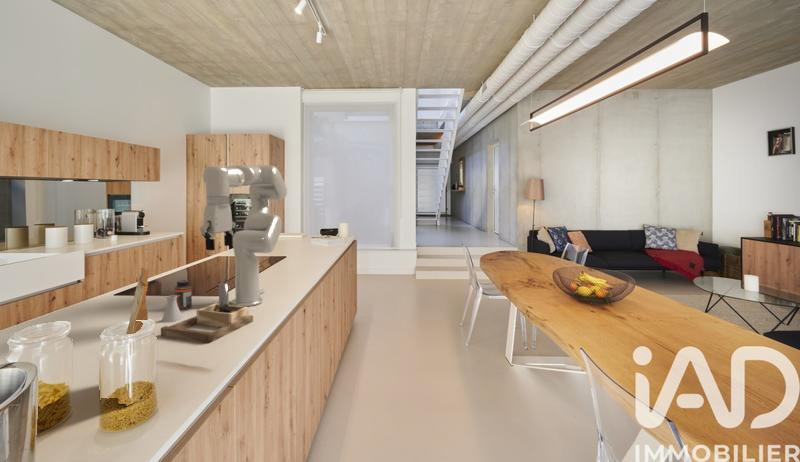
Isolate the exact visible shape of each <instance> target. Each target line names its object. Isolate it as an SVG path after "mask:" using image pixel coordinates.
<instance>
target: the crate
mask: <svg viewBox="0 0 800 462" xmlns="http://www.w3.org/2000/svg"><path fill="white" fill-rule="evenodd" d="M196 316H197V324H196V325H198V326H199V325H200V326H204V327H205V326H207V327H208V326H209V327H214V328H220V329H221V328H223V327H225V326H227V325H229V324H231V323H234V322H236V321H238V320H240V319H242V318H244V317H247V316H249V306H234V305H232V304H229V313H225V312H219V303H213V304H211V305H207V306H205V307H202V308H199V309H197V310H196Z"/></svg>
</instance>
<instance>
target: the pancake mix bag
mask: <svg viewBox="0 0 800 462" xmlns="http://www.w3.org/2000/svg"><path fill="white" fill-rule="evenodd" d="M140 271H141V272H140V275H139V278H138V282H137V284H136V288H135V292H134V298H133V301H132V309H131V314H130V317H129V323H128V326H127V330H126V333H125V335H126V334H134V333H136V332H137V331H139V330H140V329H141V327H142V325H143V323H142V322H141V321H136V320H148V321H149V318H148V309H147V301H146V300H147V299H146V298H147V291H148V287H149V286H148V285H149V281H148V279H149V278H148V275H149V273H148V270H146V268H145V267H143V266H142V267H141V269H140Z"/></svg>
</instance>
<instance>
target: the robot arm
mask: <svg viewBox="0 0 800 462" xmlns="http://www.w3.org/2000/svg"><path fill="white" fill-rule="evenodd" d="M202 179H203V181H204V184H205V196H206V205H204V206H205V207H204V211H203V224H202V226H201V227H199V230H200V232H201V235H202V236H203V240H205V250H206V251H215V250H216V246H215V245H216V244H215V238H214V237H215V235H216V234H221V233H224V235H223V240H224V241H223V243H224V246H225V247H233V254H234V266H235V267H234V270H235V271H234V272H235V274H234V279H235V283H234V285H235V286H234V287H235V291H234V292H235V293H234V294H235V297H234V299H232V300H231V305H234V306H244V307H252V306H257V305H260V304H262V303H263V302H264V299H263V297H261V295H263V294H265V291H266V290H264V289H260V262H259V258H258V257H257V256H256V253H257V254H269V253H270V254H271V253H272V252H273V251H274V250H275V248H276V245H277V243H278V240H279V237H280V235H281V232H282V227H283V223H282V218H281V217H280V216H279V215H278V214H274V213H271V208H270V206H269V205H268V204H267V203H266V202H265V201H264V200H268V201H270V200H271V201H274V200H275V201H280V200H281V201H282V200H284V199H285V198H286V197H287V194H288V192H287V191H288V189H287V186H286V183H285V180H284V179H283V177H282V174H281V172H280V170H279V169H278V168H277V167H276V166H275V165H270V164H269V165H267V164H266V165H262V164H247V165H246V164H244V165H241V164H240V165H239V164H238V165H227V166H226V165H225V166H222V165H220V166H207V167H206V168H205V169H204V170H203V174H202ZM247 186H249V188H248V193H249V199H250V204H251V205H250V206H251V207H250V210H249V213H248V215H247V217H246V219H245V221H244V224H243V228H244V229H243V230H238V231H237V232H235V230H236V229H235V228H236V225H237V223H236V222H235V221H233V216H232V215H233V214H232V209H231V204H230V200H231V199H230V188H239V187H247ZM234 232H235V233H234Z"/></svg>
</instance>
